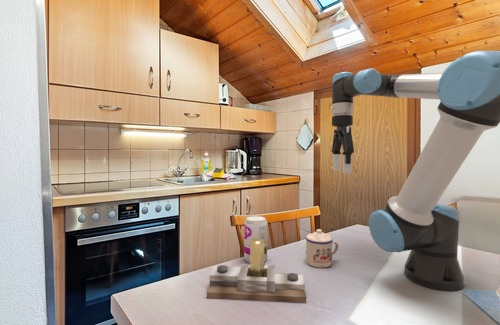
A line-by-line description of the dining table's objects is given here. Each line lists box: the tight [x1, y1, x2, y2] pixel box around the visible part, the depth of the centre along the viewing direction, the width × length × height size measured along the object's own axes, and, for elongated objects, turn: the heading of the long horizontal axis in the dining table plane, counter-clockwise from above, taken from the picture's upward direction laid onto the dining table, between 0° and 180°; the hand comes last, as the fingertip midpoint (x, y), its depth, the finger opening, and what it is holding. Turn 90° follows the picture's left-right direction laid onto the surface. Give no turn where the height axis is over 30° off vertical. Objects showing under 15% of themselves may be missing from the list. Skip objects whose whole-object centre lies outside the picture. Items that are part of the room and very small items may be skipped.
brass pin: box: [249, 239, 265, 277], centre depth 77 cm, size 4×4×12 cm
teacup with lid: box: [305, 228, 340, 269], centre depth 95 cm, size 12×9×12 cm
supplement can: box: [243, 215, 268, 264], centre depth 97 cm, size 8×8×15 cm
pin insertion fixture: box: [206, 263, 307, 304], centre depth 78 cm, size 26×13×6 cm, turn 85°
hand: (341, 171), depth 104 cm, fingers open, 13 cm apart
